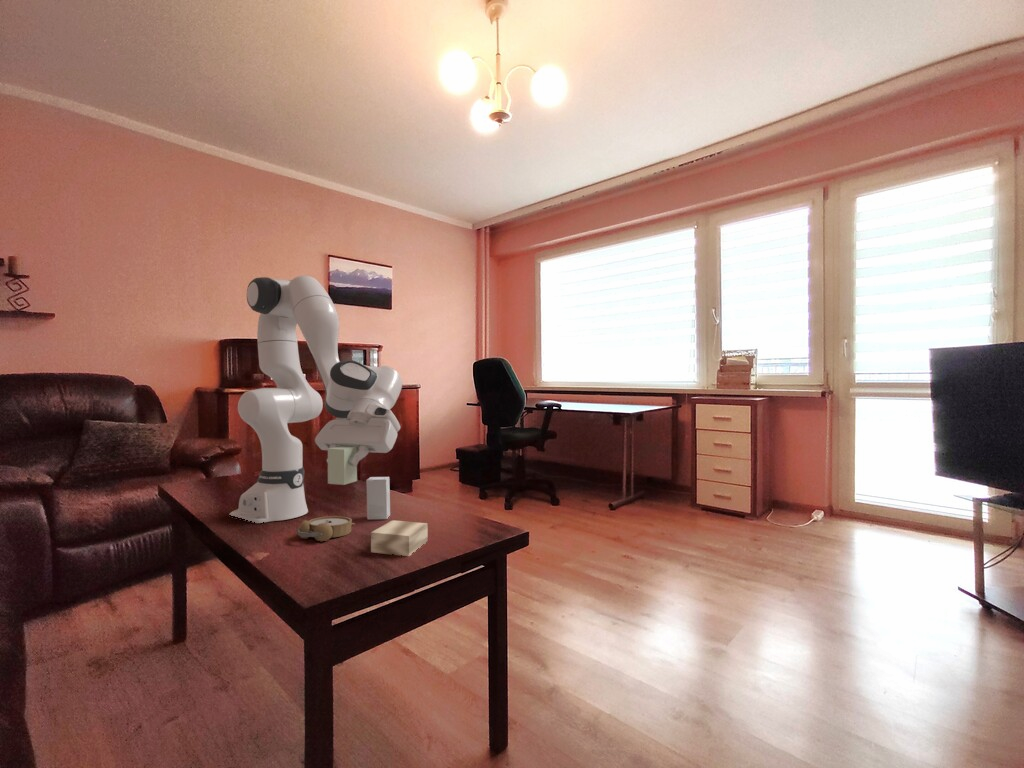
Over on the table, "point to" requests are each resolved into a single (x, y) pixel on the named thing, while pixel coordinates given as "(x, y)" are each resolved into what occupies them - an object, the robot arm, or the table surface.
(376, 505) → the skincare box
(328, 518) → the alarm clock
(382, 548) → the birch block
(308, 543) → the table surface
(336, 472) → the sage block
